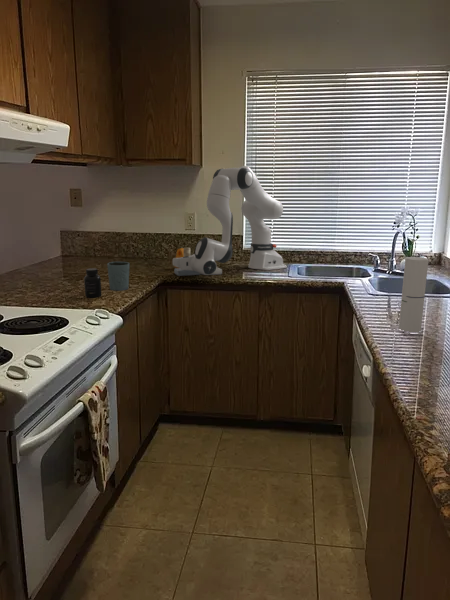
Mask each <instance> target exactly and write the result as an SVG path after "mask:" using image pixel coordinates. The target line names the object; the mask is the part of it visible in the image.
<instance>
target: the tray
mask: <svg viewBox="0 0 450 600" xmlns="http://www.w3.org/2000/svg"><path fill="white" fill-rule="evenodd" d="M222 274H223V269H222V268H221V267H220V268H219V267H218V266H217V267H216V270H215V272H214V273H212V274H210V275H209V276H211V275H212V276H214V275H222Z"/></svg>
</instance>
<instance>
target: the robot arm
mask: <svg viewBox="0 0 450 600" xmlns="http://www.w3.org/2000/svg"><path fill="white" fill-rule="evenodd" d="M234 190H239V192H240V193H241V194H242V196H243V198H244V201H243V203H242V205H241V208H240V210H241V213H242V215H243V216H244V217H245V218H246V220H247V221H248V223H249V226H250V230H251V231H250V232H251V243H250V259H249V263H248V266H247V267H248V268H249V269H252V270H253V269H255V270H264V271H269V270H270V271H272V270H278V269H279V270H281V269H287V267H288V266H287V265H286V264H285V263H284V259H283V257H282V255H281V254H279V253H278V252H277V251H276V250H275V249H276V248H277V247H278V246H277V244H274V243H271V242H272V230H271V228H270V227H269V226H268V225H267V224H266V223H265V221H264V220H276V219H279V218H281V217H282V215H283V213H284V207H283V203H282V202H281V201H279V200H277V199H275V198H274V197H273V196H271V195H270V194H269V193H268V192H267V191H265V189H264V188H263V186H262V185H261V183H260V181H259V179H258V177H257V176H256V174H255V173H254V171H253V170H252V169H251V168H250V167H249V166H248V165H241V166H239V167H228V168H227V167H226V168H220V169H216V170H215V172H214V174H213V176H212V182H211V184H210V186H209V190H208V194H207V197H206V198H207V199H206V207H207V209H208V211H209V213H210V214H211V215H212V216H214V218H216V219H217V220H218V221H219V222H220V224H221V226H222V230H221V231H222V232H221V241H218V240H215V239H213V238H209V237H202V238H200V240H199V241H198V242H197V243H196V245H195V249H194V253H193V254H190V256H186V257H181V258H176V257H174V258H172V266H173V267H174V266H176V267H178V268H181V270H191V271H196V272H198V273H200V275H205V276H211V275H210V274H212V273H214V272H215V270H216V267H218V266H217V263H216V262H218V263H222V264H224V263H227V262H229V261H230V260H231V259H232V257H233V229H234V228H233V227H234V226H233V225H234V216H233V212H231V207H230V199H231V193H232V191H234ZM176 267H175V268H176Z"/></svg>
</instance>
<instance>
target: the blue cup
mask: <svg viewBox="0 0 450 600" xmlns="http://www.w3.org/2000/svg"><path fill="white" fill-rule="evenodd" d="M106 265H107V274H108V275H107V276H108V285H109V290H111V291H115V292H116V291H121V292H122V291H126V290H129V283H130V262H127V261H111V262H110V261H109V262H108V263H107V264H106Z"/></svg>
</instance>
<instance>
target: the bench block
mask: <svg viewBox="0 0 450 600" xmlns="http://www.w3.org/2000/svg"><path fill="white" fill-rule="evenodd" d="M173 272H174V274H175V275H176V276H178V277H180V276H182V277H183V276H195V275H196V276H201V274H200V273H198V272H196V271H191V270H181V268H174V271H173Z"/></svg>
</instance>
